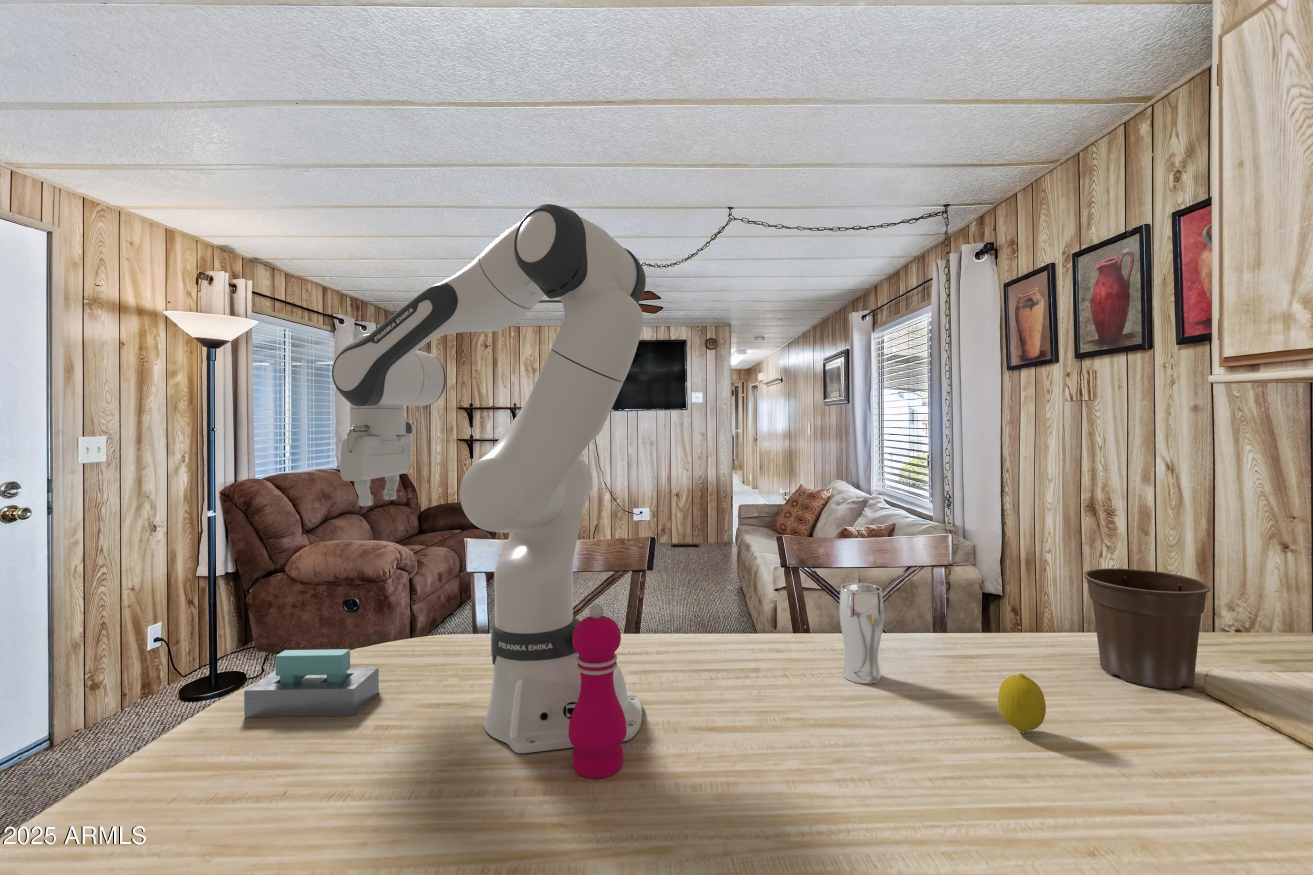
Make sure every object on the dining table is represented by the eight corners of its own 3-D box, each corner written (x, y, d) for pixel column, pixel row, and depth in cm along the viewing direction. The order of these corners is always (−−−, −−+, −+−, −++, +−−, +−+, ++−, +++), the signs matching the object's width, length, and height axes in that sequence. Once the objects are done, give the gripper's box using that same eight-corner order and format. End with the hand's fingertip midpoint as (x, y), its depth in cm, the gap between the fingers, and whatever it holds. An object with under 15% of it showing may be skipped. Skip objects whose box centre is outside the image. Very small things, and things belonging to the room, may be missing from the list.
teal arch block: (350, 700, 93) (349, 649, 93) (342, 707, 90) (342, 654, 90) (286, 701, 93) (285, 650, 93) (276, 708, 90) (275, 655, 90)
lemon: (1042, 727, 82) (1042, 669, 82) (1049, 746, 77) (1048, 685, 77) (996, 719, 85) (996, 663, 85) (1000, 737, 80) (999, 678, 80)
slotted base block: (378, 691, 96) (378, 667, 96) (354, 715, 88) (353, 688, 88) (278, 693, 96) (277, 668, 95) (244, 717, 88) (244, 690, 87)
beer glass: (887, 673, 101) (887, 585, 101) (878, 688, 95) (878, 595, 95) (846, 665, 105) (845, 580, 105) (834, 679, 99) (834, 589, 99)
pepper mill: (618, 784, 70) (616, 614, 70) (560, 777, 71) (558, 611, 71) (633, 751, 77) (631, 597, 77) (579, 746, 79) (578, 595, 78)
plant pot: (1099, 686, 95) (1099, 585, 95) (1073, 651, 110) (1072, 564, 110) (1231, 703, 89) (1231, 595, 89) (1184, 664, 104) (1184, 571, 104)
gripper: (367, 424, 97) (368, 509, 97) (416, 426, 117) (417, 496, 117) (328, 425, 97) (329, 510, 97) (384, 426, 117) (385, 496, 117)
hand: (378, 502), depth 107 cm, fingers open, 8 cm apart
